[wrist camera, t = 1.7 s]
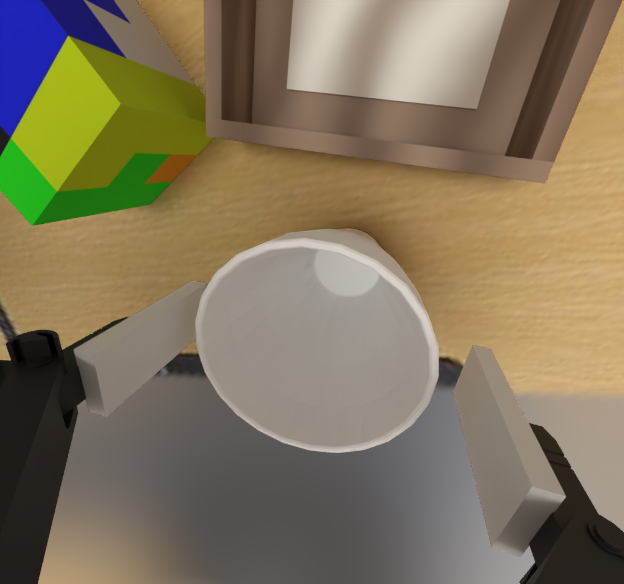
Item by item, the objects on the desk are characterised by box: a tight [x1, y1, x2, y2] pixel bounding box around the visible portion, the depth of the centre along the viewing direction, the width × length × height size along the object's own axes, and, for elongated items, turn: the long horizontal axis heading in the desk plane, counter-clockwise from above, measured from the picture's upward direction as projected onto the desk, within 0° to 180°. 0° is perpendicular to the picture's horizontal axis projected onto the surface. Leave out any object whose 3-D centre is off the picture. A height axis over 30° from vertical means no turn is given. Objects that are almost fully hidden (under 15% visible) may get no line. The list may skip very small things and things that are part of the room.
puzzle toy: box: [0, 0, 213, 226], centre depth 20 cm, size 10×10×10 cm
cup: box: [195, 228, 439, 453], centre depth 19 cm, size 10×10×14 cm
